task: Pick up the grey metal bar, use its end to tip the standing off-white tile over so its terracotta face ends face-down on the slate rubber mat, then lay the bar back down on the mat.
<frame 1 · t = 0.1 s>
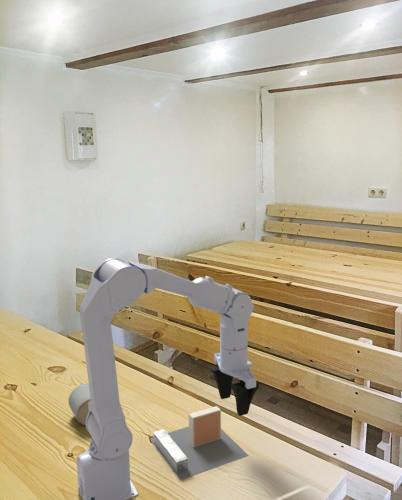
hand: (233, 405, 98), 10 cm above the table, tool pointing down, fingers open, 7 cm apart
mat: (197, 448, 99), on the table
tile: (205, 440, 101), resting on mat
ceramic mug: (93, 418, 113), on the table
bar: (170, 455, 96), resting on mat
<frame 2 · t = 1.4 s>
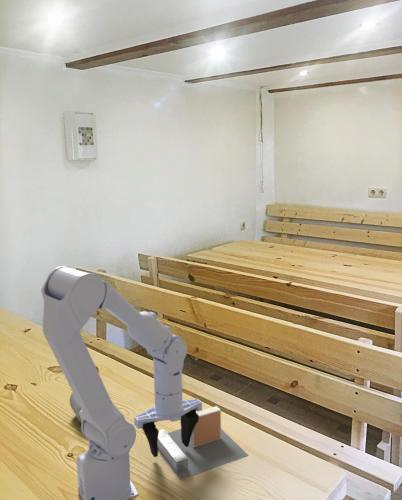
hand: (170, 449, 96), 2 cm above the table, tool pointing down, fingers open, 7 cm apart
tile: (205, 440, 101), resting on mat, touching gripper
everything else where it was.
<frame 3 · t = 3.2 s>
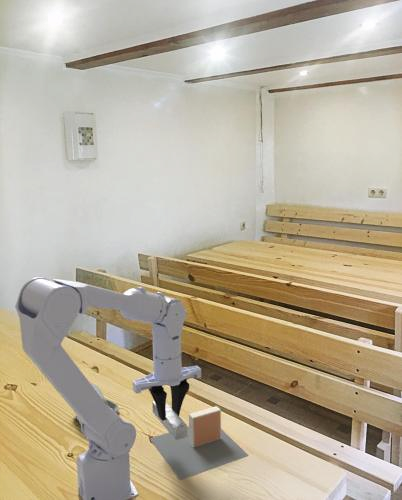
hand: (168, 416, 95), 9 cm above the table, tool pointing down, fingers closed on bar, 2 cm apart
tile: (205, 440, 101), resting on mat
bar: (169, 423, 95), point 8 cm above the table, touching gripper
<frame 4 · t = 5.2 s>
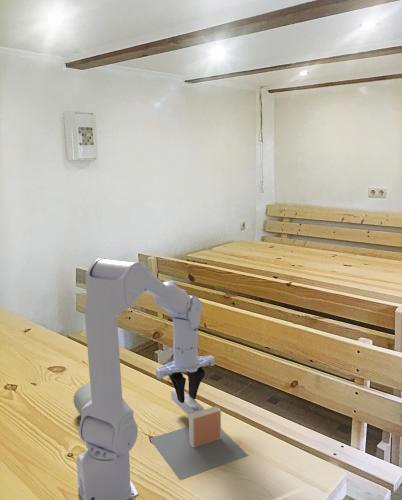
hand: (186, 399, 108), 6 cm above the table, tool pointing down, fingers closed on bar, 2 cm apart
bar: (187, 408, 109), point 4 cm above the table, touching gripper
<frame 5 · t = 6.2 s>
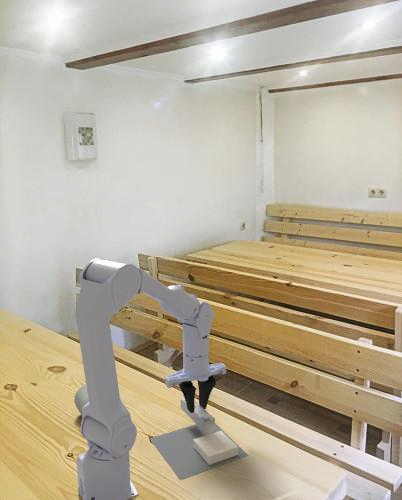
hand: (196, 409, 104), 6 cm above the table, tool pointing down, fingers closed on bar, 2 cm apart
tile: (207, 438, 100), point 1 cm above the table, tilted 90°, touching mat
bar: (197, 418, 104), point 4 cm above the table, touching gripper
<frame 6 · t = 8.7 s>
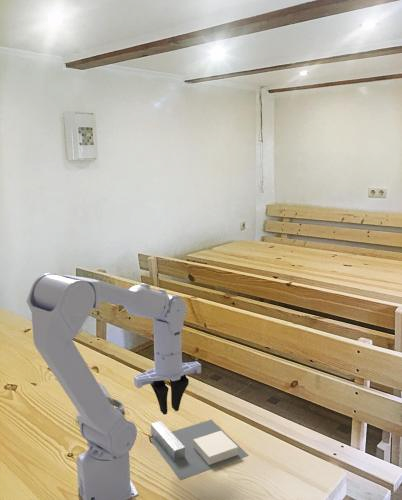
hand: (169, 410, 97), 9 cm above the table, tool pointing down
bar: (172, 438, 100), point 2 cm above the table, tilted 90°, touching mat
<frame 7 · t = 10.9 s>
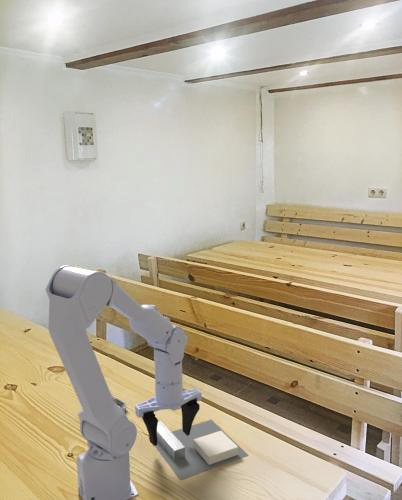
hand: (170, 438, 98), 3 cm above the table, tool pointing down, fingers open, 7 cm apart
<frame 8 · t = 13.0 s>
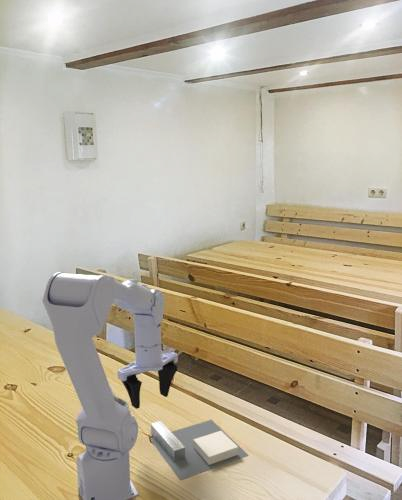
hand: (150, 400, 101), 9 cm above the table, tool pointing down, fingers open, 7 cm apart
at the end: tile tilted 90°; the gripper is holding nothing; bar inside the target area (2.1 cm from its centre), point 1.6 cm above the table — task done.
